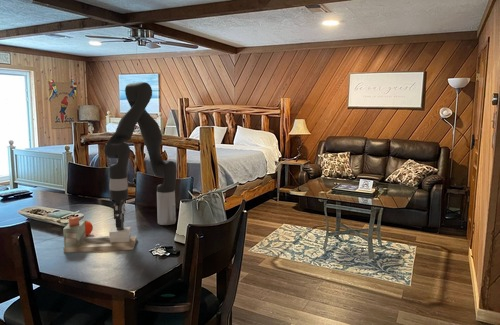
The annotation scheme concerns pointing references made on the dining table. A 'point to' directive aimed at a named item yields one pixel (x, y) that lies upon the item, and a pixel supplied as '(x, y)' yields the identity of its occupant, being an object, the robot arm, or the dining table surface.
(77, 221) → the button
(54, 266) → the dining table surface
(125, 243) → the rail base
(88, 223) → the clementine
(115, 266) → the dining table surface
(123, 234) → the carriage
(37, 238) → the dining table surface
